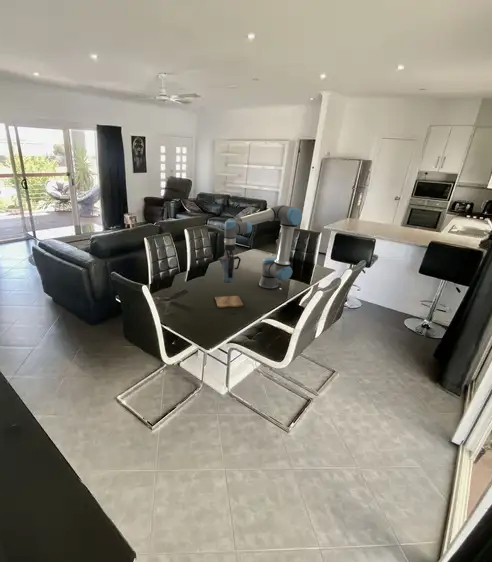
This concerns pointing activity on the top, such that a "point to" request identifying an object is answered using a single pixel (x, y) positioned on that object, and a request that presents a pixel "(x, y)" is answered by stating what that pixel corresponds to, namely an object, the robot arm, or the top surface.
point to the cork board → (228, 301)
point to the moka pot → (225, 266)
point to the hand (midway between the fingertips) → (229, 275)
